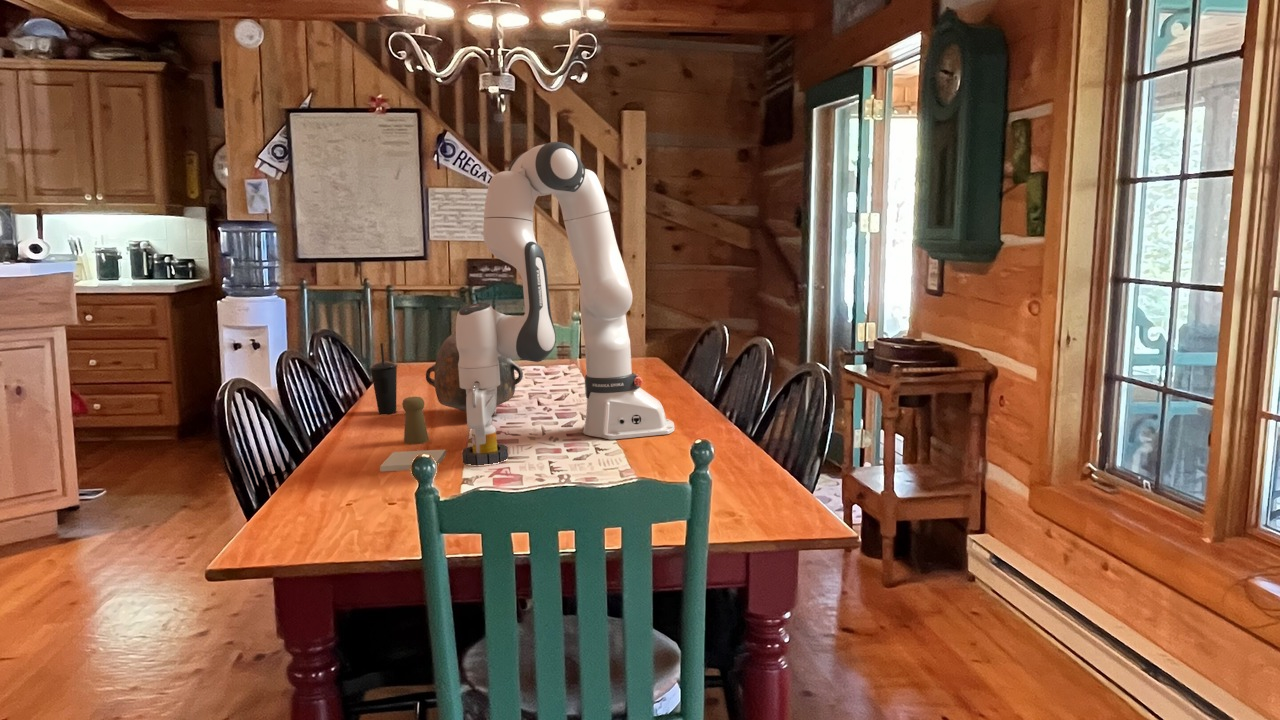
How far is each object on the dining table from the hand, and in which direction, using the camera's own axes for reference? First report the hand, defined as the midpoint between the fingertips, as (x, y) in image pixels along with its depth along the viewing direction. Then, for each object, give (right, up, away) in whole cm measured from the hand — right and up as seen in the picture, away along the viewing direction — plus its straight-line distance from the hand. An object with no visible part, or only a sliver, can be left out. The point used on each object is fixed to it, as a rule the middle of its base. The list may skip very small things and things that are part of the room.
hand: (484, 439), depth 202 cm
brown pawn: (-20, -2, +22) cm, 30 cm away
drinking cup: (-37, +2, +58) cm, 69 cm away
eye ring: (0, -5, +1) cm, 5 cm away
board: (-16, -5, +1) cm, 17 cm away
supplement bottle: (0, -5, +1) cm, 5 cm away
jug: (-10, +2, +48) cm, 49 cm away
